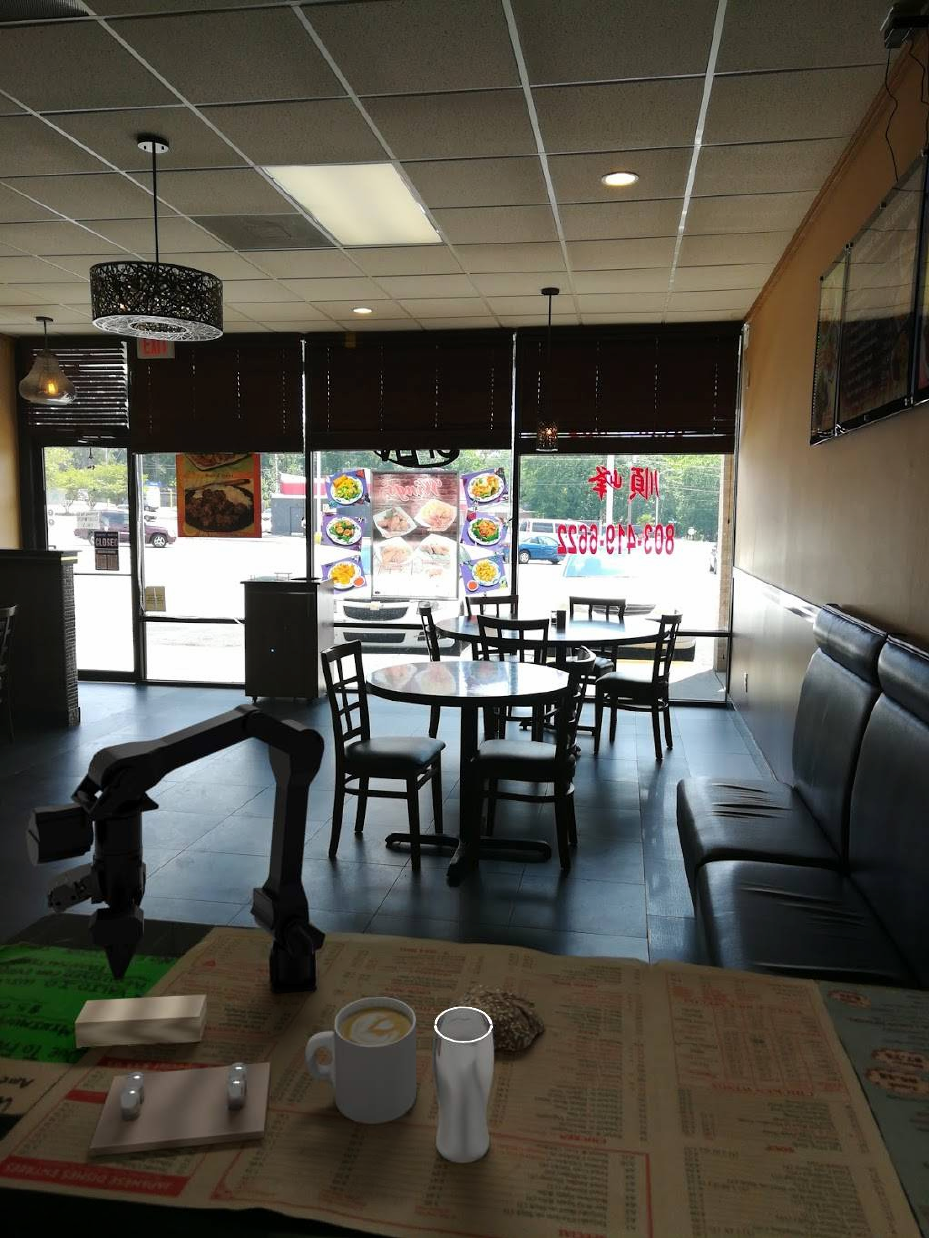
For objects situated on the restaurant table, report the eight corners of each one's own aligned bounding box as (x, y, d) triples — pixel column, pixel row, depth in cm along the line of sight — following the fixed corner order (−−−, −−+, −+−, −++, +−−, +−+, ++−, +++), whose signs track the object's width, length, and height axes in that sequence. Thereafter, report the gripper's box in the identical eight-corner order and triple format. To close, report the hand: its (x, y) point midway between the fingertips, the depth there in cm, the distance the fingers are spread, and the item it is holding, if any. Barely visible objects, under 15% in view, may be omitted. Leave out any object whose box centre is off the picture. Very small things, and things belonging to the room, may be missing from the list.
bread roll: (436, 1041, 120) (437, 1007, 119) (470, 992, 131) (471, 961, 130) (527, 1065, 115) (527, 1031, 114) (554, 1012, 126) (555, 980, 126)
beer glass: (487, 1171, 97) (488, 1047, 95) (425, 1161, 99) (425, 1039, 96) (497, 1126, 104) (499, 1009, 102) (439, 1117, 105) (440, 1001, 103)
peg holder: (270, 1069, 114) (269, 1040, 113) (263, 1138, 102) (262, 1107, 101) (115, 1083, 111) (113, 1054, 110) (89, 1156, 99) (87, 1124, 98)
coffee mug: (424, 1072, 113) (423, 1001, 112) (405, 1128, 104) (405, 1051, 102) (323, 1060, 115) (321, 989, 114) (296, 1114, 106) (294, 1038, 104)
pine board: (207, 1020, 124) (206, 994, 123) (200, 1043, 119) (199, 1016, 118) (88, 1027, 122) (86, 1000, 122) (76, 1050, 118) (74, 1022, 117)
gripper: (57, 825, 120) (60, 933, 122) (39, 884, 102) (43, 1009, 104) (145, 818, 123) (146, 924, 125) (142, 874, 106) (143, 996, 108)
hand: (120, 960), depth 116 cm, fingers open, 9 cm apart
